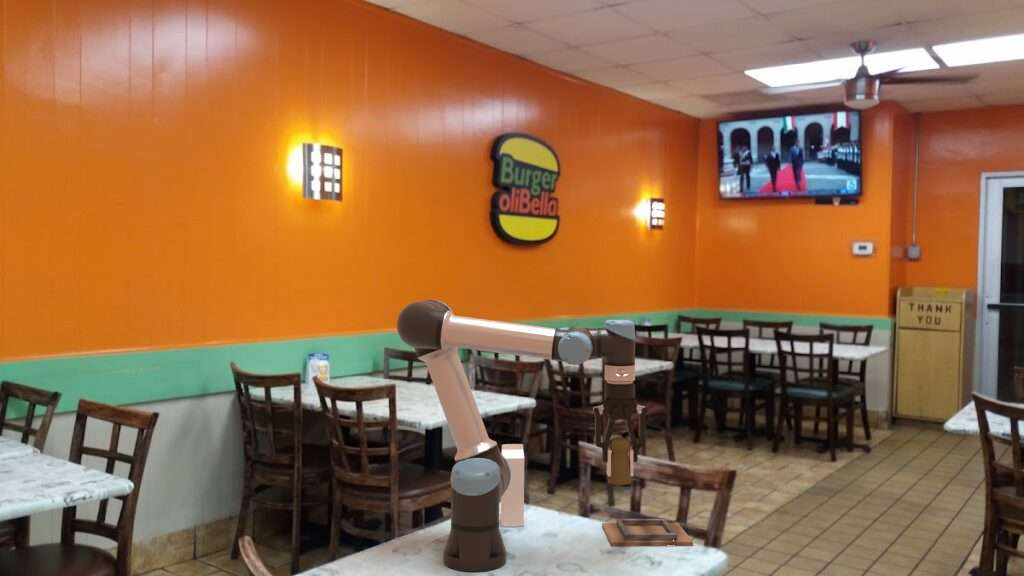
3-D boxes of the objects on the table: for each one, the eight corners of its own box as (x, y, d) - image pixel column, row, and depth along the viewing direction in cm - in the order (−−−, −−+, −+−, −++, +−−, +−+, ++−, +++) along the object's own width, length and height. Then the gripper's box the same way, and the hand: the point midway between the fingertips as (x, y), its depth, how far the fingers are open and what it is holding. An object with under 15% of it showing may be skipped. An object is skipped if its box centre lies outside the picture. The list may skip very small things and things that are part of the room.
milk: (523, 527, 224) (524, 446, 223) (501, 527, 223) (502, 446, 223) (521, 520, 230) (522, 441, 229) (500, 520, 229) (501, 441, 229)
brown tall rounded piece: (624, 486, 200) (624, 441, 200) (603, 482, 204) (603, 438, 204) (636, 481, 205) (636, 437, 205) (615, 477, 209) (615, 434, 209)
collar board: (611, 546, 208) (611, 536, 208) (601, 526, 224) (602, 517, 224) (693, 545, 209) (693, 536, 209) (678, 526, 225) (678, 517, 225)
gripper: (585, 384, 200) (585, 478, 201) (658, 383, 201) (658, 478, 201) (582, 380, 208) (582, 471, 208) (652, 379, 208) (652, 471, 209)
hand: (619, 474), depth 205 cm, fingers closed on brown tall rounded piece, 5 cm apart
